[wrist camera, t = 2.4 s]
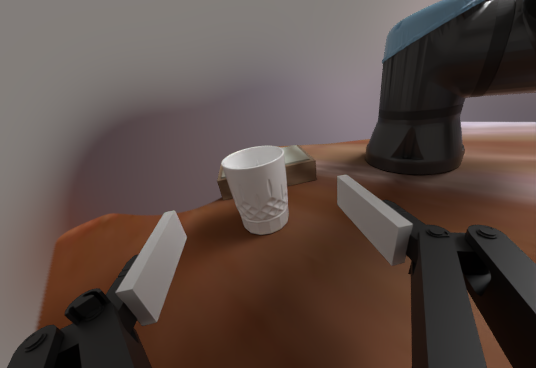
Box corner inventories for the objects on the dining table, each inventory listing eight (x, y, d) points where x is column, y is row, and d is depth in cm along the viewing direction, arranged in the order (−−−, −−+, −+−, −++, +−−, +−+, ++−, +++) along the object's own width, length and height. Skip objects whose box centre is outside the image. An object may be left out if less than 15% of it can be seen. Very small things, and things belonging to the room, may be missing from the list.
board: (299, 160, 46) (298, 143, 44) (316, 179, 36) (315, 158, 35) (226, 176, 45) (221, 159, 43) (223, 200, 36) (216, 179, 34)
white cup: (229, 232, 27) (207, 168, 23) (255, 201, 33) (242, 146, 29) (280, 244, 24) (266, 170, 19) (299, 207, 30) (292, 144, 25)
